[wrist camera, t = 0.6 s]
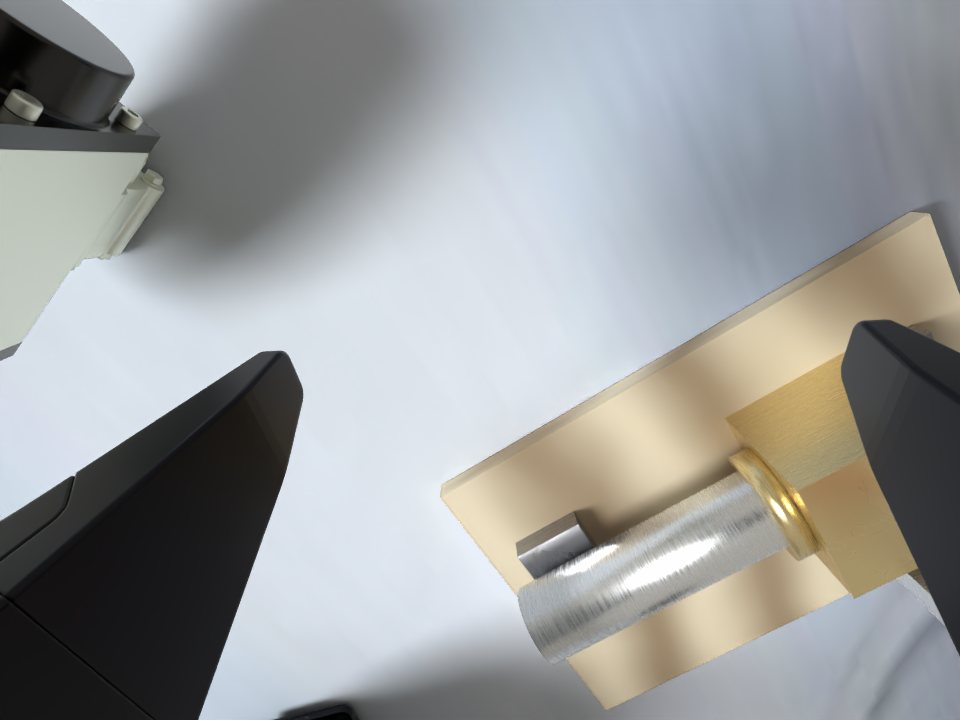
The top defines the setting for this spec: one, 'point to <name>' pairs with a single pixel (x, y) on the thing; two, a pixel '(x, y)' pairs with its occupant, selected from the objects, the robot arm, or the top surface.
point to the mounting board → (699, 451)
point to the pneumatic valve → (63, 156)
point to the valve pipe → (726, 524)
